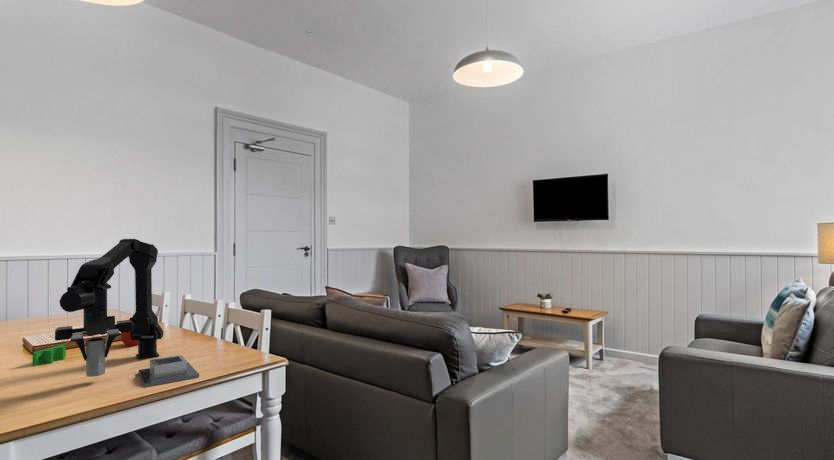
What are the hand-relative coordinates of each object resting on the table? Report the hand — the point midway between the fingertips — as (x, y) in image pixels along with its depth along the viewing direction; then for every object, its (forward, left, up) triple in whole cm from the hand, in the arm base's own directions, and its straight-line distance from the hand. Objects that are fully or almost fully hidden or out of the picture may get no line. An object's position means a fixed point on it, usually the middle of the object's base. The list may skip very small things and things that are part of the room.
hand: (95, 358), depth 134 cm
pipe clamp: (-35, -10, -7) cm, 38 cm away
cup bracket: (+6, +18, -7) cm, 20 cm away
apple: (-44, +14, -7) cm, 47 cm away
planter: (0, 0, -5) cm, 5 cm away
